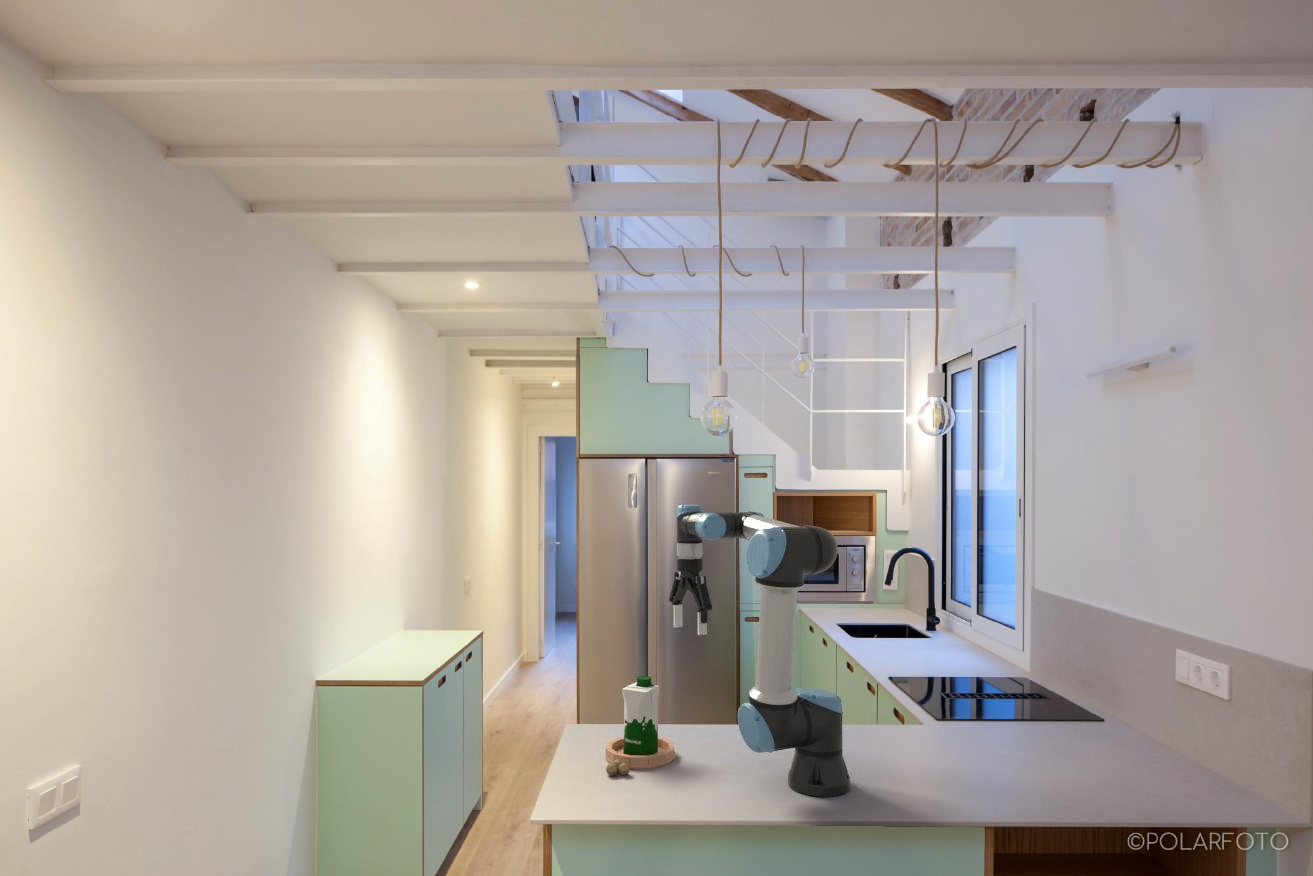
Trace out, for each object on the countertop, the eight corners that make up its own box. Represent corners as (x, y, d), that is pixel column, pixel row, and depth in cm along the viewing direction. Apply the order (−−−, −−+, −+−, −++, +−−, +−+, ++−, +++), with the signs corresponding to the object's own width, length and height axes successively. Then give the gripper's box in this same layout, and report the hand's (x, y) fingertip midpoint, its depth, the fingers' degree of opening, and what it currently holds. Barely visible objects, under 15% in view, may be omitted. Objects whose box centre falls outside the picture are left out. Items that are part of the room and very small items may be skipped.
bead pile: (631, 775, 211) (631, 764, 211) (611, 779, 209) (611, 767, 209) (621, 768, 217) (621, 757, 217) (601, 772, 214) (601, 760, 214)
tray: (687, 761, 222) (687, 750, 222) (624, 774, 213) (624, 762, 213) (653, 742, 238) (653, 731, 239) (594, 752, 229) (594, 741, 229)
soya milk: (662, 751, 227) (662, 677, 228) (646, 761, 219) (646, 685, 220) (634, 746, 231) (634, 674, 232) (618, 756, 223) (618, 681, 224)
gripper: (724, 560, 233) (724, 636, 232) (679, 553, 254) (679, 623, 253) (701, 561, 229) (701, 639, 228) (657, 554, 251) (657, 625, 250)
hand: (689, 630), depth 241 cm, fingers open, 13 cm apart
